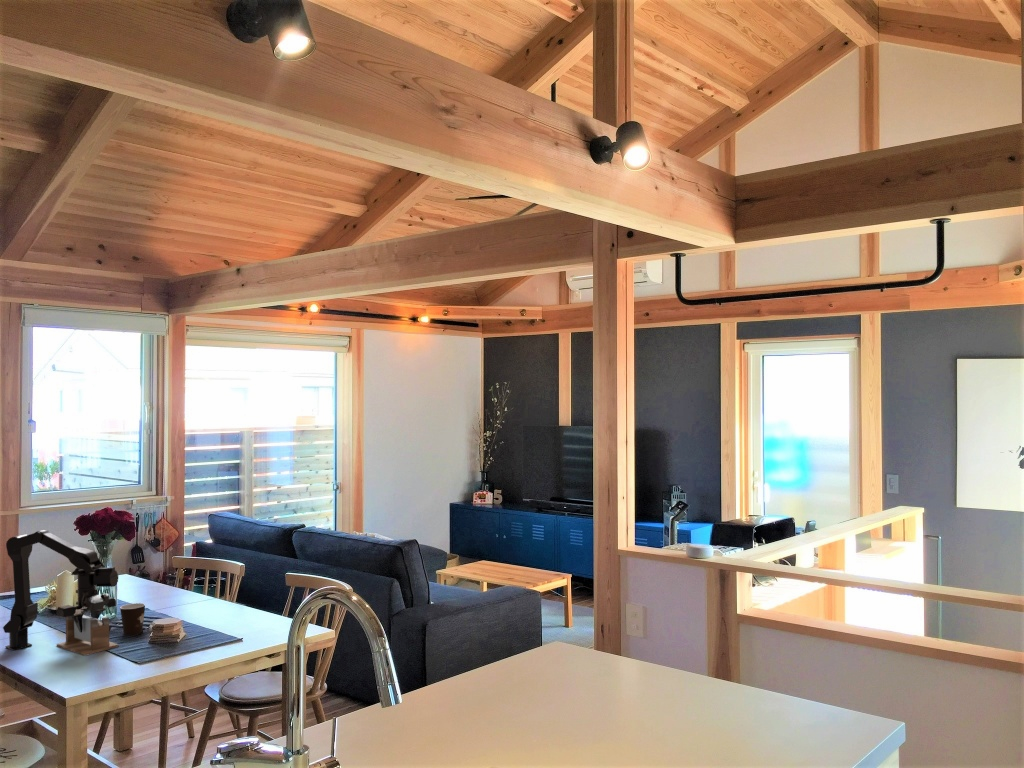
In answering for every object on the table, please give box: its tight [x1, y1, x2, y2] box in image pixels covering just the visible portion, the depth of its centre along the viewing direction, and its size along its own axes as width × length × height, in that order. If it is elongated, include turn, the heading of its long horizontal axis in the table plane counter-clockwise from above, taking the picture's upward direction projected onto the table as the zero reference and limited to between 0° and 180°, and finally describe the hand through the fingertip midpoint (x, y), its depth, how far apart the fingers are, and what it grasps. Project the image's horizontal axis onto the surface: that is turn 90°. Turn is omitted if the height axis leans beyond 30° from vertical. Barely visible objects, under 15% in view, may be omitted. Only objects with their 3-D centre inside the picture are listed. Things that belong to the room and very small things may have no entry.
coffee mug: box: [119, 602, 146, 636], centre depth 314 cm, size 12×9×10 cm
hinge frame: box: [56, 610, 120, 656], centre depth 296 cm, size 20×12×11 cm, turn 53°
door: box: [74, 614, 103, 643], centre depth 296 cm, size 19×2×8 cm, turn 54°
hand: (87, 630), depth 296 cm, fingers open, 4 cm apart
